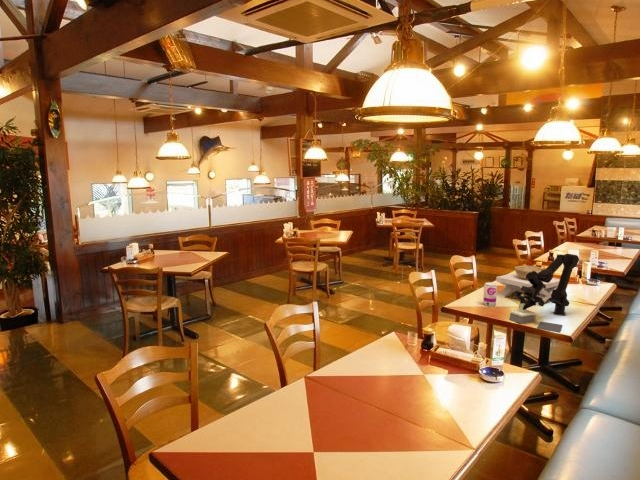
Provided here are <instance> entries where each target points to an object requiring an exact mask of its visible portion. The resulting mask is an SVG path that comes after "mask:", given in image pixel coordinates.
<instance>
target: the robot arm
mask: <svg viewBox="0 0 640 480" xmlns="http://www.w3.org/2000/svg"><path fill="white" fill-rule="evenodd" d="M579 261H580V257H579V256H578V255H577V254H571V253H565V254H559V253H558V254H557V256H556V258H555V259H554V260H553V261H552V262H551V263H550V264H549V265H548V266H547V267H546V268H544V270H542V271H540V272H539V273H538V274H537V273H536V271H532V272H530V273H528V274H527V275H526V278H527V280H528V281H529V282H530V284H532V286H531V287H526V286H522V287H521V291H523V292H524V293H523V292H520V291H516V290H515V291H514V292H513V295H514V296H515V297H516V298H517V299H518V300H520V301H519V306H518V310H519V309H520V304H522V303H524V304H525V306H524V307H523V310H525V309H526V310H528V309H529V308H532V307H535V306H534V305H536V303H537V302H538V304H539V306H538V307H544V306H545V303H546V302H544V301H543V299H542V298H540V297H537V295H540V294H539V293H540V291H541V290H542V288H546V286H545V284H544V283H543V282H546V283H549V282H550V281H551V280H552V278H554V274H555V273H556V272H557V270H558V269H559V268H560V267H561V266H562V265H563V268H562V271H561V275H560V278H559V279H560V281H559V284H558V287H557V289H555V290H553V291H552V294H551V299H550V300H551V303H552V304H554V311H553V314H554V315H560V316H566V313H567V312H566V307H569V306H570V304H571V303H570V301H569V300H568V294H567V287H568V285H569V282H570V278H571V275H572V271H573V269H574V268H575V267H577V266H578V264H579Z"/></svg>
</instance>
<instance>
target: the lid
mask: <svg viewBox="0 0 640 480" xmlns="http://www.w3.org/2000/svg"><path fill="white" fill-rule="evenodd" d="M519 305H520V309H519V308H518V309H515V310H510V311H509V314H510V313H512V314H514V315H517V316H520V317H526V316H532V315H535V316H536V312H533V311H531V310H528V309H525V310H523V307H524V306H525V304H524V303H522V304H520V303H519Z"/></svg>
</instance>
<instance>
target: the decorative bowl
mask: <svg viewBox="0 0 640 480" xmlns="http://www.w3.org/2000/svg"><path fill="white" fill-rule="evenodd" d="M544 269H545V268H544V267H541V266H537V265H536V266H533V265H517V266H515V267H514V272H513V273H508V274H504V275H500V276H498V275H497V276H496V277H495V278H496V279H495V281H496V282H497V283H500V284H502V285H504V286H505V287H504V288H502V289H501V290H500V291H499V292H498V293H497V296H496V297H501V298H506V297H510V296H511V295H512V294H514V292H515V291H520V292H522V293H523V294H524V292H523V291H521V288H522V286H526V287H531V286H532V284H530V282H529V281H528V280H527V278H526V275H527V274H528V273H530V272H532V271H536V273H537V274H538V273H539V272H540V271H542V270H544ZM559 281H560V278H557V277H553V278H552V280H551V281H550V282H549V283H546V282H543V283H544V284H545V286H546V288H542V290H541V291H540V293H539V294H540V295H537V297H540V298H542V299H543V301H544V302H545V303H546V302H547V301H548V300H551V294H552V291H553V290H555V289H557V287H558V284H559ZM533 307H540V306H539V304H538V302H537V303H536V305H534V306H533Z"/></svg>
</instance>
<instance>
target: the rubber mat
mask: <svg viewBox="0 0 640 480" xmlns="http://www.w3.org/2000/svg"><path fill="white" fill-rule="evenodd" d="M562 328H563V324H558V323H555V322H554V323H553V322H546V321H542V320H541V321H539V323H538V325H537V326H536V329H539V330H543V331H548V332H555V333H561V331H562Z"/></svg>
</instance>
